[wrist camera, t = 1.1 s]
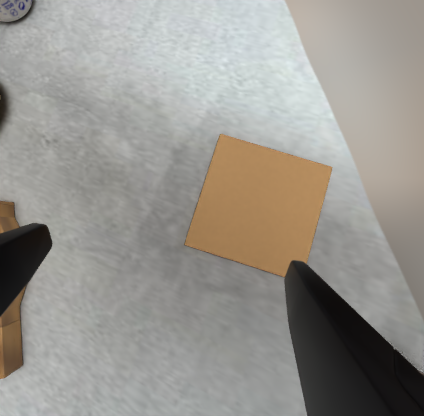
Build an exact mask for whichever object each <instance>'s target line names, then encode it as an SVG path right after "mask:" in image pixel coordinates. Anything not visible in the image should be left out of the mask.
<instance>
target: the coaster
mask: <svg viewBox="0 0 424 416" xmlns="http://www.w3.org/2000/svg"><path fill="white" fill-rule="evenodd" d="M331 171H332V167H330V166H326V165H323V164H320V163H316V162H313V161H310V160H306V159H303V158H300V157H296V156H293V155H290V154H286V153H283V152H280V151H276V150H273V149H270V148H266V147H263V146H260V145H256V144H253V143H250V142H246V141H243V140H240V139H236V138H233V137H230V136H226V135H223V134H220V136H219V139H218V142H217V145H216V148H215V151H214V154H213V158H212V161H211V164H210V167H209V170H208V173H207V176H206V179H205V182H204V185H203V188H202V191H201V195H200V198H199V201H198V204H197V207H196V210H195V213H194V216H193V219H192V222H191V225H190V228H189V231H188V235H187V238H186V241H185V244H184V245H186V246H189V247H193V248H196V249H199V250H202V251H205V252H208V253H211V254H214V255H217V256H221V257H224V258H227V259H230V260H233V261H236V262H239V263H242V264H245V265H248V266H252V267H255V268H258V269H261V270H264V271H267V272H270V273H273V274H276V275H280V276H283V277H285V275H286V272H287V270H288V267H289V264H290V262H291V261H292V260H298V261H303V262H305V263H306V264H307V260H308V256H309V253H310V249H311V245H312V242H313V238H314V234H315V230H316V227H317V223H318V219H319V216H320V212H321V208H322V205H323V201H324V197H325V193H326V190H327V186H328V182H329V179H330V175H331Z"/></svg>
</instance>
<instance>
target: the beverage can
mask: <svg viewBox="0 0 424 416" xmlns="http://www.w3.org/2000/svg"><path fill="white" fill-rule="evenodd" d="M31 4H32V0H0V21H3V22H10V21H15V20H17V19H19V18H21V17H23V16H24V15H25V14H26V13H27V12H28V10H29V9H30V7H31Z"/></svg>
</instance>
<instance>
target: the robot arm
mask: <svg viewBox="0 0 424 416" xmlns="http://www.w3.org/2000/svg"><path fill="white" fill-rule="evenodd" d="M51 247H52V239H51V236H50V232H49V229H48V227H47V226H46V225H44V224H38V223H32V224H29V225H25V226H22V227H19V228H16V229H12V230H9V231H6V232H3V233H0V317H1V316H2V315H3V313H4V312H5V311H6V310H7V308H8V307H9V306H10V305H11V304H12V302H13V301H14V300H15V299H16V297H17V296H18V295H19V294H20V293H21V291H22V290H23V289H24V287H25V286H26V285H27V284H28V282H29V281H30V279H31V278H32V276H33V275H34V273H35V272H36V270H37V269H38V267H39V266H40V264H41V263H42V261H43V260H44V258H45V257H46V255H47V254H48V252H49V251H50V249H51ZM285 293H286V304H287V315H288V323H289V329H290V334H291V339H292V344H293V348H294V353H295V358H296V363H297V368H298V373H299V377H300V382H301V387H302V392H303V397H304V401H305V406H306V411H307V416H424V376H423V375H422V374H421V373H420V372H419V371H418V370H417V369H416V368H415V367H414V366H413V365H412V364H410V363H409V362H408V361H407V360H406V359H405V358H404V357H403V356H402V355H401V354H400V353H399V352H398V351H397V350H394V349H393V346H392V345H390V344H389V343H388V342H387V341H386V340H385V339H384V338H383V337H382V336H381V335H380V334H379V333H378V332H377V331H376V330H375V329H374V328H373V327H372V326H371V325H370V324H369V323H368V322H366V321H365V320H364V319H363V318H362V317H361V316H360V315H359V314H358V313H357V312H356V311H355V310H354V309H353V308H352V307H351V306H350V305H349V304H348V303H347V302H346V301H345V300H344V299H342V298H341V297H340V296H339V295H338V294H337V293H336V292H335V291H334V290H333V289H332V288H331V287H330V286H329V285H328V284H327V283H326V282H325V281H324V280H323V279H322V278H321V277H320V276H318V275H317V274H316V273H315V272H314V271H313V270H312V269H311V268H310V267H309V266H308V265H307V264H306V263H305V262H303V261H298V260H292V261H291V262H290V264H289V267H288V270H287V272H286V275H285Z"/></svg>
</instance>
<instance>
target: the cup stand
mask: <svg viewBox="0 0 424 416" xmlns="http://www.w3.org/2000/svg"><path fill="white" fill-rule="evenodd" d="M16 228H19V225H18V223H17V221H16V219H15V216H14V203H12V202H5V201H0V233H3V232H6V231H9V230H12V229H16ZM25 287H26V286H25ZM25 287H24V289H23V290H22V291H21V293H20V294H19V295H18V296H17V297H16V299H15V300H14V301H13V302H12V304H11V305H10V306H9V307H8V308H7V310H6V311H5V312H4V313H3V315H2V316H1V317H0V379H3V378H5V377H7V376H8V375H10V374H11V373H12V372H14V371H15V370H17V369H18V368H20V367H21V366H22V365H23V359H22V341H21V324H20V303H21V300H22V297H23V294H24V291H25Z"/></svg>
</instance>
